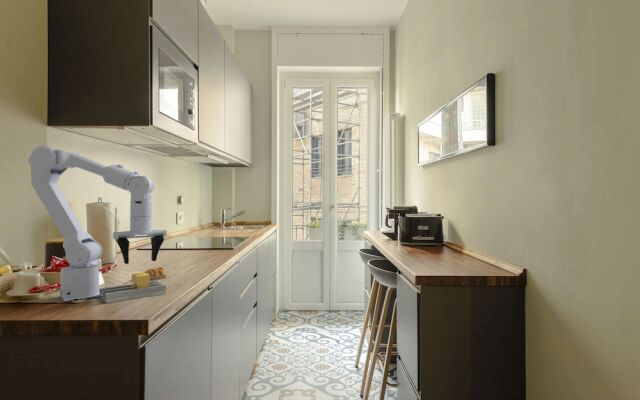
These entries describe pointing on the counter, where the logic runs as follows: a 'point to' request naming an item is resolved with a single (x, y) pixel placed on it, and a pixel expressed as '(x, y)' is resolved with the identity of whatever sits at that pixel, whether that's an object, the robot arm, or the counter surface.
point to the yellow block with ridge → (141, 279)
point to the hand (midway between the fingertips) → (140, 262)
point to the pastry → (156, 273)
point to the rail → (130, 292)
